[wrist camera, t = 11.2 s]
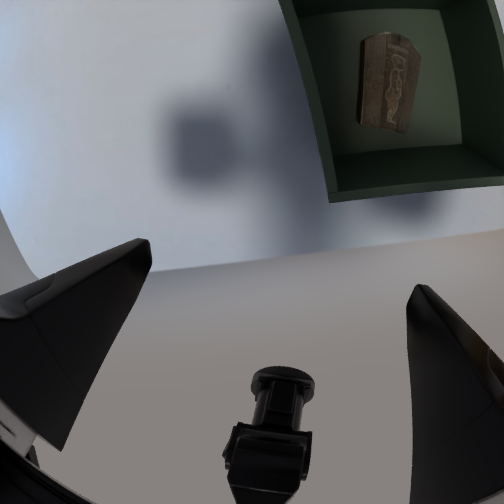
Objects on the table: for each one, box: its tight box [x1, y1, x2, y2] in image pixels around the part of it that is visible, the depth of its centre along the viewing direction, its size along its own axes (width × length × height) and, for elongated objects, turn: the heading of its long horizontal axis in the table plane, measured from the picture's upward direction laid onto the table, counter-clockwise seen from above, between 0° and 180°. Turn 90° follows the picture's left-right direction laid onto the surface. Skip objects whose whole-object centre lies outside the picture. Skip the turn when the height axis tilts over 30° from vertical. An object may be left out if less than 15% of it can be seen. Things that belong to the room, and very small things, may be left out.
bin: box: [278, 0, 504, 203], centre depth 12 cm, size 10×10×7 cm
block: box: [358, 32, 421, 134], centre depth 13 cm, size 4×6×2 cm, turn 179°
